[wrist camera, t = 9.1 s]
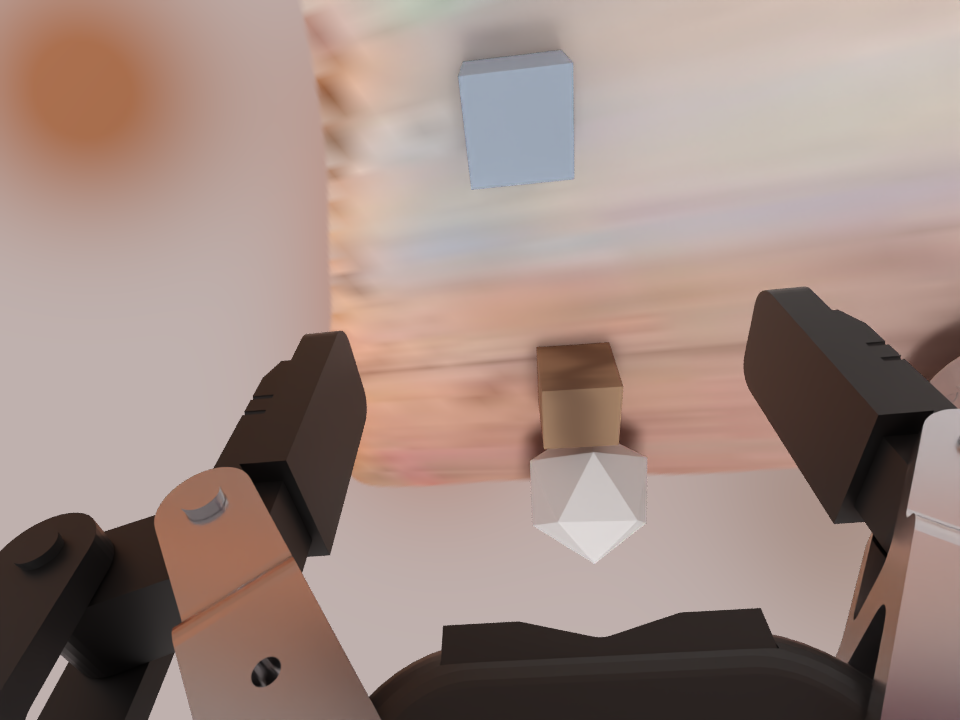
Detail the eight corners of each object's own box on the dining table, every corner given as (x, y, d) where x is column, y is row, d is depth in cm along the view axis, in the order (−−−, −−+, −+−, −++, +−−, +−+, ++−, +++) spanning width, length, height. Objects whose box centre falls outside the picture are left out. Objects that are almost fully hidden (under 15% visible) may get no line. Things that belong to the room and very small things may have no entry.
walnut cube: (608, 341, 38) (623, 386, 34) (605, 397, 40) (618, 445, 36) (536, 346, 38) (541, 391, 34) (538, 401, 41) (543, 449, 37)
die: (527, 404, 40) (529, 479, 47) (534, 512, 34) (534, 581, 41) (644, 400, 40) (628, 477, 47) (672, 509, 33) (649, 579, 40)
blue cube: (560, 49, 27) (573, 62, 23) (562, 151, 30) (574, 179, 26) (463, 61, 28) (458, 76, 24) (473, 160, 31) (471, 189, 27)
